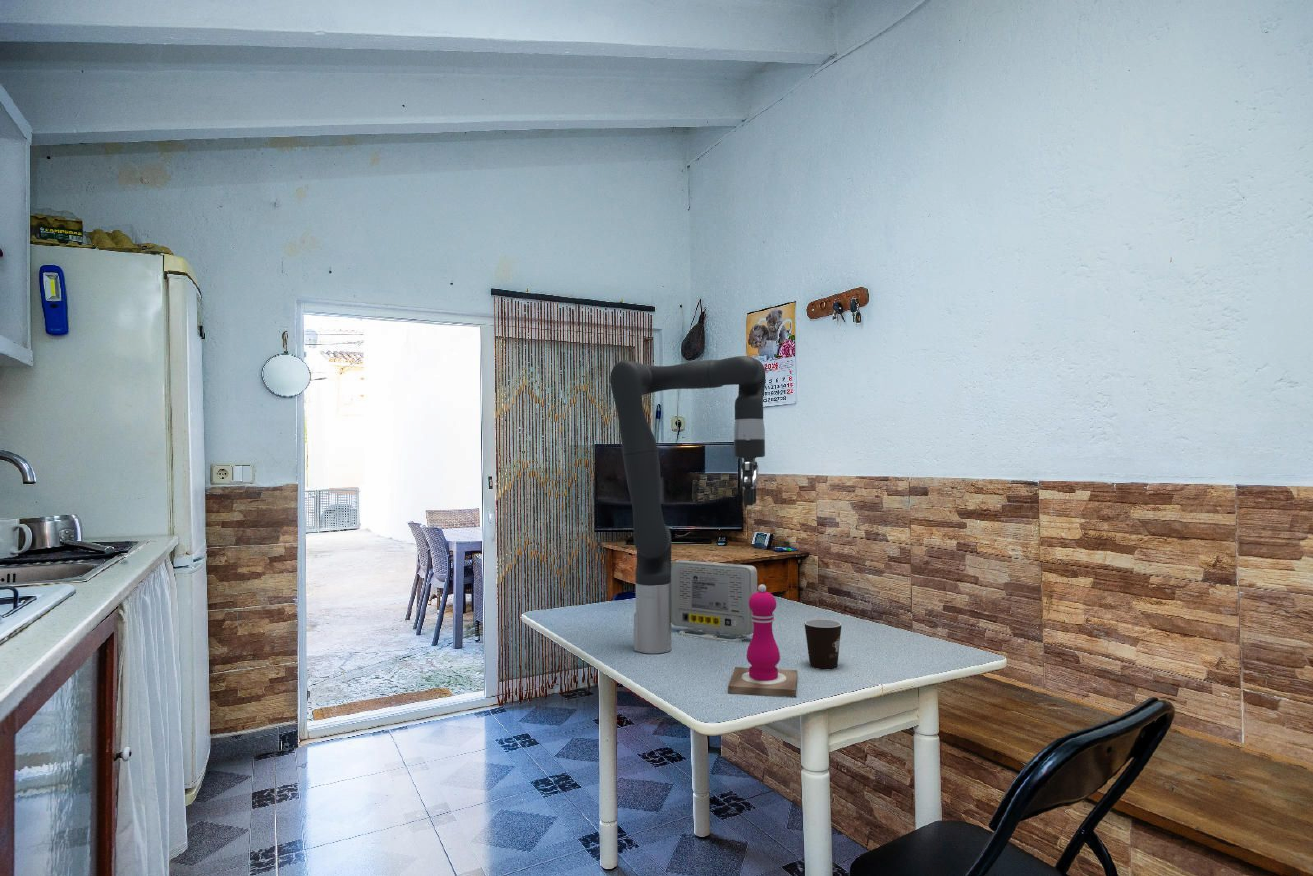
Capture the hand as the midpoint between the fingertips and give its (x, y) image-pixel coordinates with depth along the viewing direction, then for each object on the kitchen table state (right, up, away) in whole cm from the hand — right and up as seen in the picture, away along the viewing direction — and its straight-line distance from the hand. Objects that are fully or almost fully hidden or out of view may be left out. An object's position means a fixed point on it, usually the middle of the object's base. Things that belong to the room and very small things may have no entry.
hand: (750, 504), depth 176 cm
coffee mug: (+18, -38, -5) cm, 42 cm away
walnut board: (0, -38, -20) cm, 42 cm away
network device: (-7, -39, +24) cm, 47 cm away
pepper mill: (0, -36, -19) cm, 41 cm away
